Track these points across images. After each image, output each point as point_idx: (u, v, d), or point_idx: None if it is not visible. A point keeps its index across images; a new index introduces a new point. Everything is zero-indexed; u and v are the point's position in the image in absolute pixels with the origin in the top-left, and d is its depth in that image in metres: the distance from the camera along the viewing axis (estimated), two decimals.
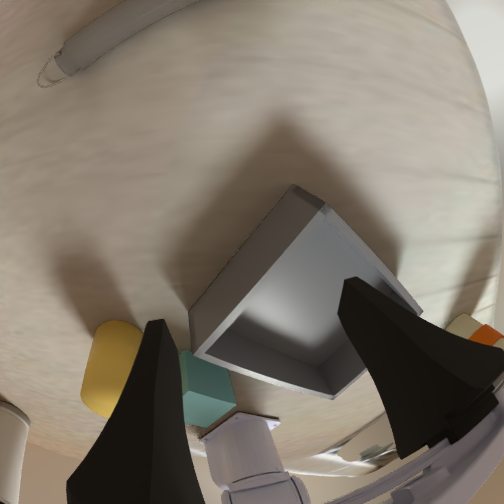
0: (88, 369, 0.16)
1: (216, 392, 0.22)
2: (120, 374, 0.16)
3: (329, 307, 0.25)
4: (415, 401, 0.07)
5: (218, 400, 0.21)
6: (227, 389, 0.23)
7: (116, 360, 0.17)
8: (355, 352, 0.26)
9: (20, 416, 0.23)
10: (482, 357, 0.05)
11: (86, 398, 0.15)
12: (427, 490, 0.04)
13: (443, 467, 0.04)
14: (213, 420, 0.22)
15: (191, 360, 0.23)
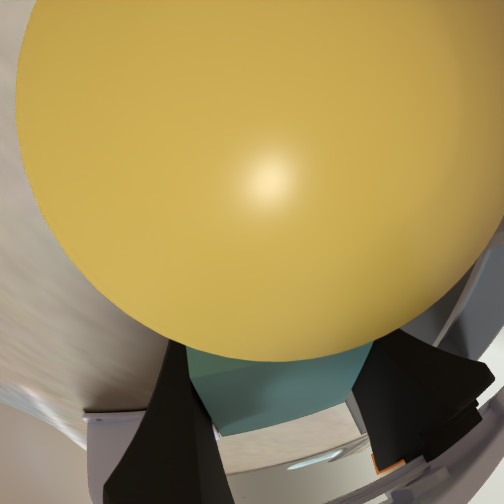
0: None
1: None
2: None
3: None
4: (390, 415, 0.06)
5: (353, 381, 0.08)
6: None
7: None
8: None
9: None
10: (462, 373, 0.05)
11: None
12: (427, 490, 0.04)
13: (443, 467, 0.04)
14: (264, 425, 0.09)
15: None
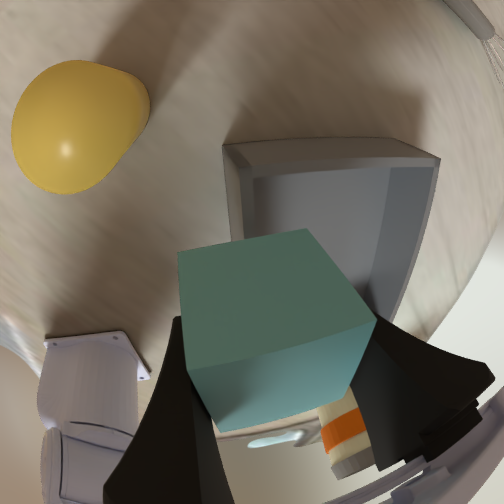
0: None
1: None
2: (131, 99, 0.08)
3: None
4: (390, 415, 0.06)
5: (352, 376, 0.08)
6: None
7: (132, 88, 0.09)
8: None
9: None
10: (462, 373, 0.05)
11: (38, 88, 0.06)
12: (427, 490, 0.04)
13: (443, 467, 0.04)
14: (262, 421, 0.09)
15: None
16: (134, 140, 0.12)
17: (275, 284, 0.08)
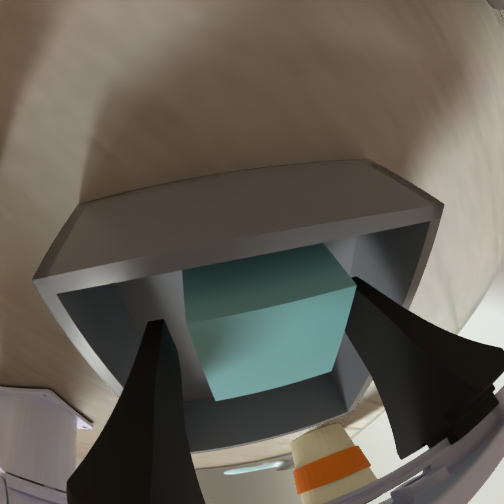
0: None
1: None
2: None
3: None
4: (415, 401, 0.07)
5: (338, 345, 0.10)
6: None
7: None
8: (244, 414, 0.18)
9: None
10: (482, 357, 0.05)
11: None
12: (427, 490, 0.04)
13: (443, 467, 0.04)
14: (255, 390, 0.10)
15: None
16: None
17: (266, 255, 0.09)
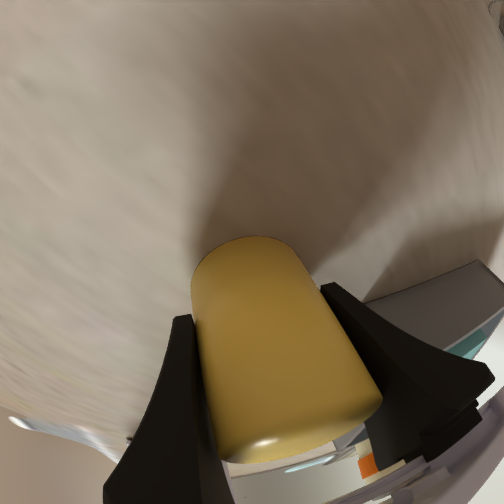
0: (313, 342, 0.07)
1: None
2: None
3: None
4: (390, 415, 0.06)
5: None
6: None
7: (350, 342, 0.08)
8: None
9: None
10: (462, 373, 0.05)
11: (280, 427, 0.05)
12: (427, 490, 0.04)
13: (443, 467, 0.04)
14: None
15: None
16: None
17: None
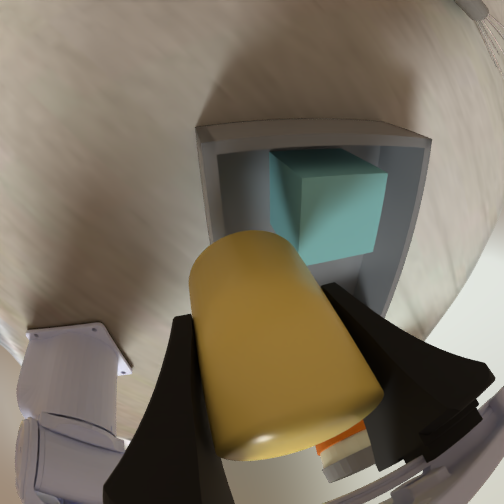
0: (307, 336, 0.06)
1: None
2: None
3: None
4: (390, 415, 0.06)
5: (378, 223, 0.14)
6: None
7: None
8: None
9: None
10: (462, 373, 0.05)
11: (273, 423, 0.05)
12: (427, 490, 0.04)
13: (443, 467, 0.04)
14: (325, 258, 0.15)
15: None
16: None
17: (332, 160, 0.14)
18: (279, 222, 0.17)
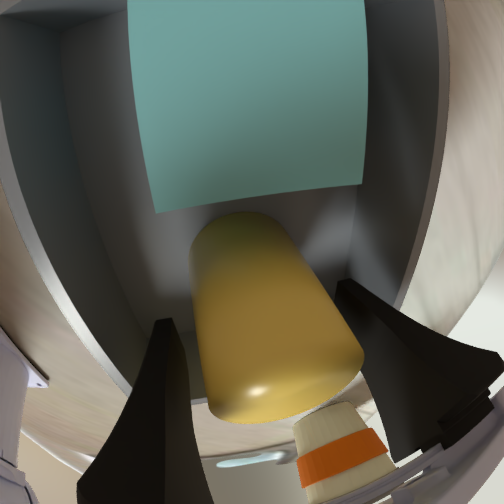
0: (287, 295, 0.08)
1: None
2: None
3: None
4: (408, 405, 0.07)
5: (365, 108, 0.05)
6: None
7: None
8: None
9: None
10: (477, 361, 0.05)
11: (257, 371, 0.06)
12: (427, 490, 0.04)
13: (443, 467, 0.04)
14: (230, 188, 0.06)
15: None
16: None
17: None
18: None
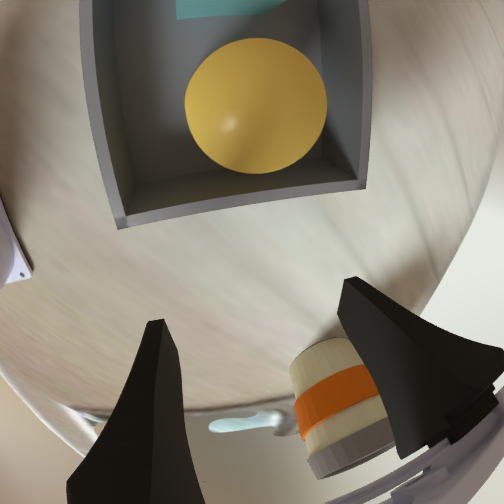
0: None
1: None
2: None
3: None
4: (415, 401, 0.07)
5: None
6: None
7: None
8: (214, 181, 0.15)
9: None
10: (482, 357, 0.05)
11: (229, 57, 0.07)
12: (427, 490, 0.04)
13: (443, 467, 0.04)
14: None
15: None
16: None
17: None
18: None
